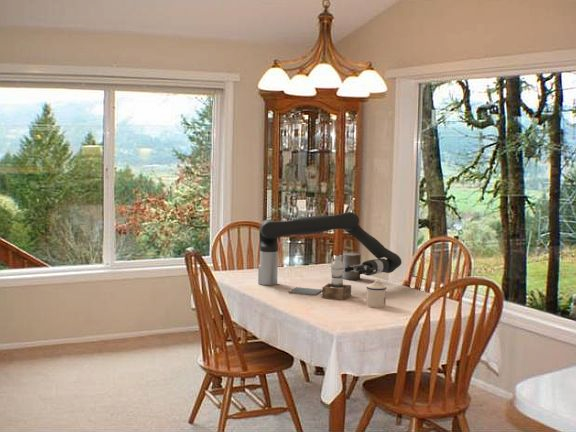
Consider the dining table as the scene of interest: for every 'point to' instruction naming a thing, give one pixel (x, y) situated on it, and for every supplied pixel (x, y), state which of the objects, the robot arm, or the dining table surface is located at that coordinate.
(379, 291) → the teacup with lid
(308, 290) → the rubber mat
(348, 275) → the pillar candle
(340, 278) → the silver aluminum bottle
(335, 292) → the walnut sleeve
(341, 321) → the dining table surface
